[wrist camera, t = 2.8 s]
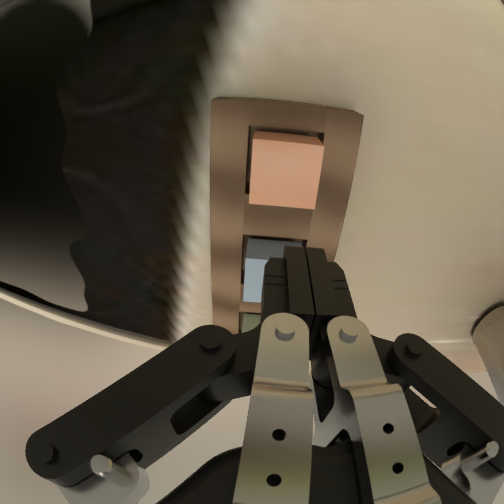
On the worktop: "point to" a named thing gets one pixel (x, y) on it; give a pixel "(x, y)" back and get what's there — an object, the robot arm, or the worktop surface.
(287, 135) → the terracotta button
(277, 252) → the slate blue button
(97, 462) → the robot arm
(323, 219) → the button panel
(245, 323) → the sage green button
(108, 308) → the worktop surface
